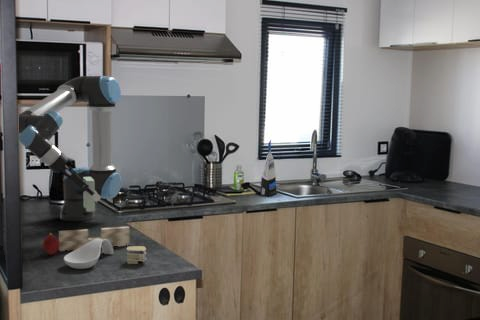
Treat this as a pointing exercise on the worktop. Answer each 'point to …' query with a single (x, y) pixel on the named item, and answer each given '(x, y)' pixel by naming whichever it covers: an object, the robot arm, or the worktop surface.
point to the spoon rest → (88, 254)
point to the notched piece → (87, 200)
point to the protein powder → (268, 176)
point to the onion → (51, 244)
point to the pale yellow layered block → (136, 254)
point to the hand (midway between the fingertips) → (96, 197)
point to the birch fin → (80, 238)
